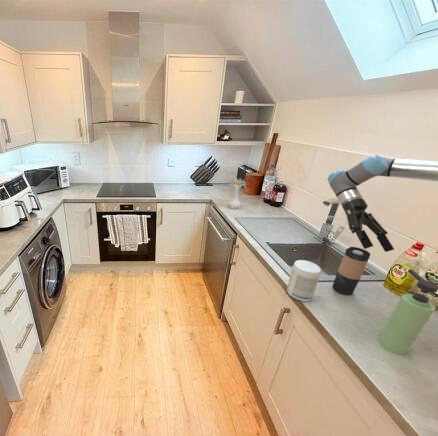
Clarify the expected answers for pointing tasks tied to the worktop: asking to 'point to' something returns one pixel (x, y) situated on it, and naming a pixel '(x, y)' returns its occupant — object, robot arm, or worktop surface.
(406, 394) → the worktop surface
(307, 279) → the supplement tub
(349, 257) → the travel mug
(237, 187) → the flower vase
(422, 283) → the pump head
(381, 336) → the soap bottle
